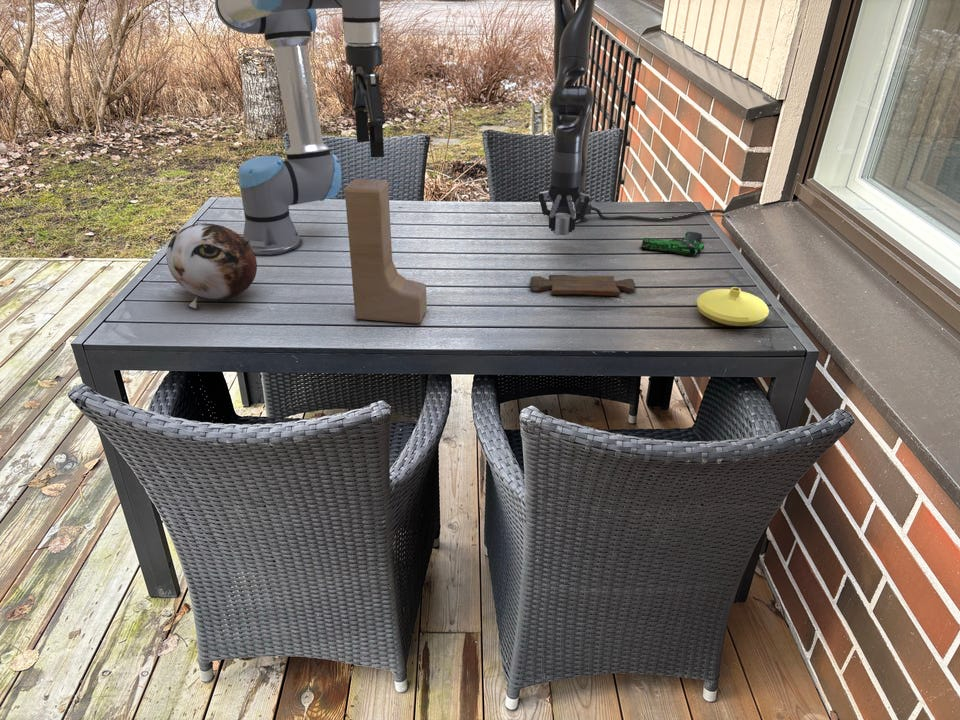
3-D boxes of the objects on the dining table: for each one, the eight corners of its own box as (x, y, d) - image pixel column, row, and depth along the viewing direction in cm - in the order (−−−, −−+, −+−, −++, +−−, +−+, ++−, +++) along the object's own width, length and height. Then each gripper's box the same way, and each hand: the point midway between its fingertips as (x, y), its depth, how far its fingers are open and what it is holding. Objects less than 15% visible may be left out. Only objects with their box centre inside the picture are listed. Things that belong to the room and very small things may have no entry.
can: (551, 233, 192) (552, 216, 189) (556, 228, 195) (557, 211, 193) (566, 236, 190) (568, 219, 188) (571, 230, 194) (573, 214, 191)
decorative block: (420, 325, 158) (416, 192, 142) (354, 319, 159) (343, 187, 144) (427, 309, 164) (423, 181, 149) (363, 305, 166) (354, 177, 150)
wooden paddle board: (638, 298, 171) (631, 281, 180) (639, 292, 170) (632, 275, 179) (530, 294, 172) (529, 277, 180) (531, 288, 171) (529, 271, 179)
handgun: (708, 232, 202) (701, 248, 190) (707, 242, 204) (700, 259, 192) (651, 225, 208) (641, 240, 196) (650, 234, 209) (639, 251, 197)
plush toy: (130, 285, 161) (164, 203, 163) (192, 308, 177) (221, 233, 178) (195, 307, 151) (229, 220, 152) (254, 330, 166) (285, 250, 168)
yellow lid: (708, 296, 172) (714, 269, 169) (775, 314, 165) (782, 286, 161) (683, 320, 161) (688, 292, 158) (753, 340, 154) (760, 311, 150)
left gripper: (397, 51, 137) (401, 162, 148) (367, 36, 157) (373, 134, 168) (358, 53, 135) (366, 165, 146) (333, 37, 155) (341, 136, 166)
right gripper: (537, 170, 181) (534, 234, 190) (594, 173, 179) (588, 237, 188) (539, 162, 188) (536, 224, 196) (594, 164, 186) (588, 227, 195)
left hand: (370, 149), depth 157 cm, fingers open, 13 cm apart
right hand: (561, 230), depth 192 cm, fingers closed on can, 4 cm apart
